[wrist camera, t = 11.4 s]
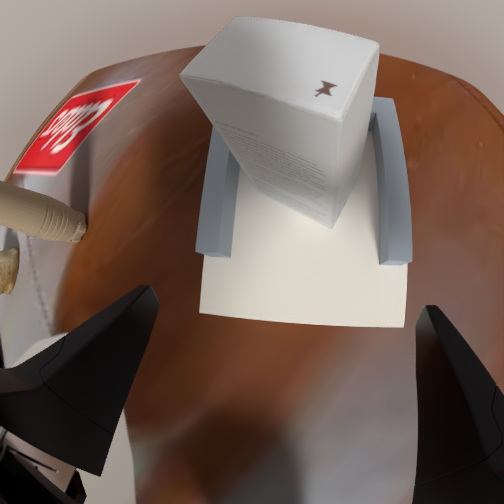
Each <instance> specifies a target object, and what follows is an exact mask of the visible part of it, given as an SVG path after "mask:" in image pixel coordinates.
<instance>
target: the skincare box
mask: <svg viewBox="0 0 504 504" xmlns="http://www.w3.org/2000/svg"><path fill="white" fill-rule="evenodd" d="M379 48H380V47H379V44H378V43H377V42H375V41H371V40H369V39H365V38H362V37H358V36H355V35H351V34H347V33H343V32H339V31H334V30H330V29H326V28H322V27H317V26H312V25H307V24H302V23H297V22H291V21H283V20H276V19H266V18H255V17H242V16H237V17H236V18H235V19H234V20H233V21H232V22H230V23H229V24H228V25H227V26H226V27H225V28H224V29H223V30H222V31H221V32H220V33H219V34H218V35H217V36H216V37H214V39H212V41H211V42H210V43H208V44H207V45H206V46H205V47H204V48H203V49H202V51H201V52H200V53H199V54H198V55H197V56H196V57H195V58H194V59H193V60H192V61H191V62H190V63H189V64H188V65H187V66H186V67H185V68H184V70H183V71H182V72H181V73H180V74H179V78H180V79H181V81H182V82H183V83H184V85H185V86H186V87H187V89H188V90H189V91H190V93H191V94H192V96H193V97H194V99H195V100H196V101H197V103H198V104H199V106H200V107H201V109H202V110H203V111H204V113H205V114H206V116H207V117H208V119H209V120H210V122H211V123H212V125H213V126H214V127H215V129H216V130H217V132H218V133H219V135H220V136H221V138H222V139H223V141H224V142H225V144H226V145H227V147H228V148H229V150H230V151H231V153H232V154H233V156H234V157H235V159H236V160H237V162H238V163H239V165H240V166H241V168H242V169H243V171H244V172H245V174H246V175H247V177H248V178H249V180H250V181H251V183H252V185H253V186H254V188H255V189H256V191H257V192H258V193H260V194H262V195H264V196H266V197H268V198H270V199H272V200H274V201H276V202H278V203H280V204H282V205H284V206H287V207H288V208H290V209H292V210H294V211H297V212H298V213H300V214H302V215H304V216H306V217H308V218H310V219H312V220H314V221H316V222H318V223H320V224H322V225H324V226H326V227H327V228H329V229H332V228H333V227H334V225H335V223H336V221H337V219H338V217H339V215H340V213H341V212H342V210H343V208H344V206H345V204H346V202H347V200H348V198H349V195H350V193H351V191H352V189H353V187H354V185H355V183H356V181H357V178H358V173H359V169H360V165H361V161H362V156H363V151H364V147H365V142H366V137H367V132H368V126H369V121H370V115H371V110H372V103H373V97H374V91H375V83H376V75H377V68H378V61H379Z"/></svg>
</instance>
